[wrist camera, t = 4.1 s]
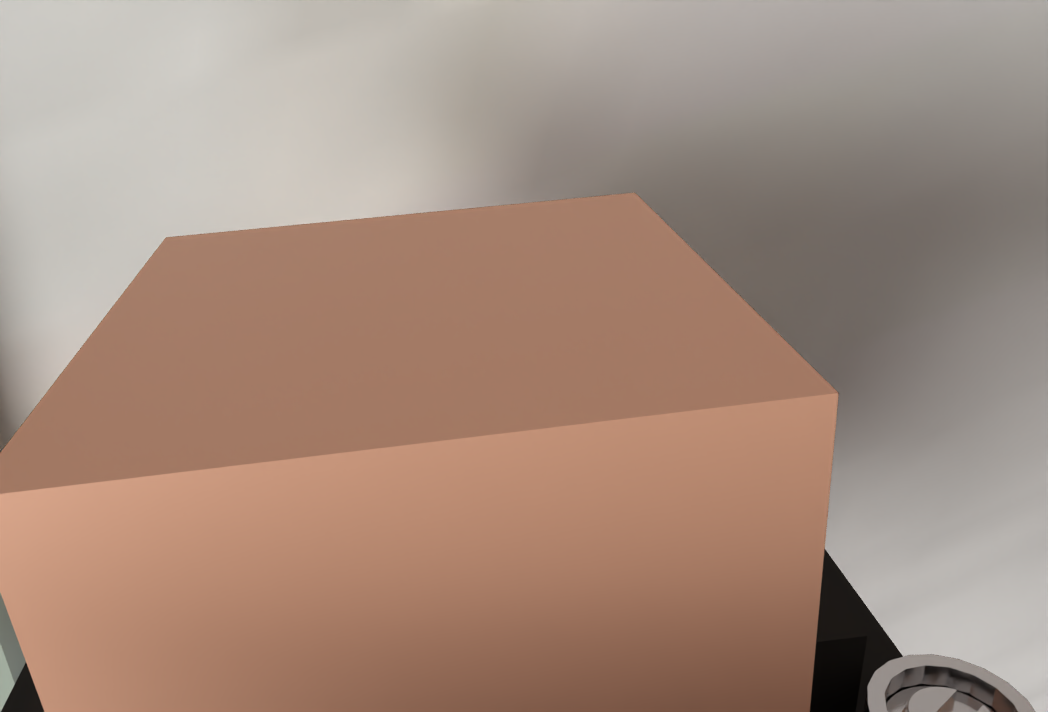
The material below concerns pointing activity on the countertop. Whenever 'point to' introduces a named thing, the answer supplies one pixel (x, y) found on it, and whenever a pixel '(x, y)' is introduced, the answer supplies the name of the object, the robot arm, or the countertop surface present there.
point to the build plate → (8, 655)
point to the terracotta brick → (424, 477)
